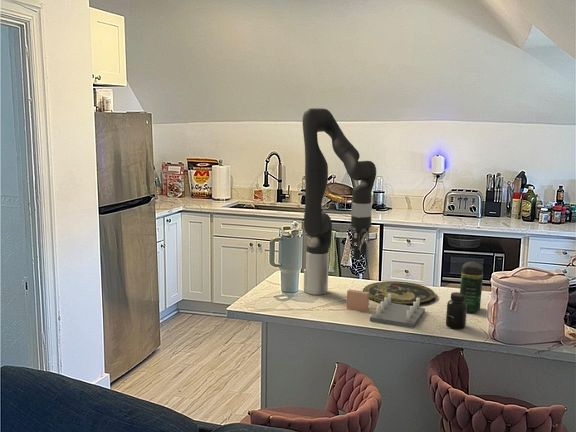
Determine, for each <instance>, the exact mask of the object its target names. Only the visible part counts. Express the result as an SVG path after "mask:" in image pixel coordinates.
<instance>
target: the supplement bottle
mask: <svg viewBox="0 0 576 432" xmlns="http://www.w3.org/2000/svg"><path fill="white" fill-rule="evenodd" d="M446 304H447V305H446V314H445V326H446V327H447V328H450V329H452V330H463V329H464V330H465V327H466V324H467V322H466V321H467V303H466V302H465V294H463V293H460V291H459V292H458V291H456V292H451V293H450V299H449V300H448V301H447V303H446Z"/></svg>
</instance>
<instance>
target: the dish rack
mask: <svg viewBox="0 0 576 432" xmlns="http://www.w3.org/2000/svg"><path fill="white" fill-rule="evenodd" d="M387 301H388V302H387ZM419 303H420V298H417V299H416V302H413V306H407V305H401V304H394V303H391V294H388V298H384V302H383V301H381V304H380V305H376V309H375V311H374V312H373V313H372V314H371V316H369V321H370V322H373V323H380V324H387V325H392V326H398V327H403V328H404V327H405V328H411V329H414V328H415V327H416V325H417V324H418V323H419V321H420V319H421V318H422V317H423V315H424V314H425V313H426V307H421V306H419Z"/></svg>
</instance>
